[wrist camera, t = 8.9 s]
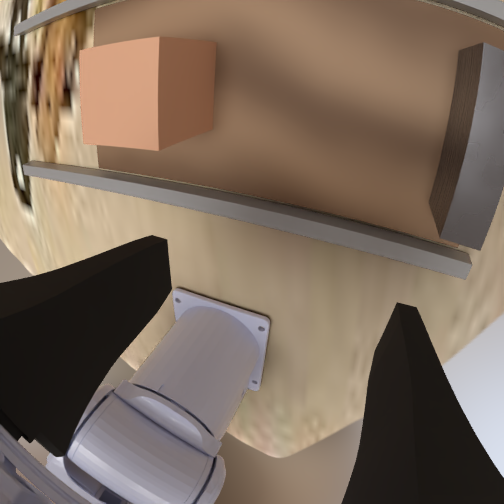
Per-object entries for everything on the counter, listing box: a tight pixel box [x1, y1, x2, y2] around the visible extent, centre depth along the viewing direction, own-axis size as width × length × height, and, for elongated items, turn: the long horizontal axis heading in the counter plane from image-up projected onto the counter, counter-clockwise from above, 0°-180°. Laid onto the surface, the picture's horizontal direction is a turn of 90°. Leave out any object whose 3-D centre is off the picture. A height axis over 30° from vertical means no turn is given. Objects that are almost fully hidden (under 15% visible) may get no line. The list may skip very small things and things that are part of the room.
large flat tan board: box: [94, 0, 504, 250], centre depth 14 cm, size 12×24×4 cm, turn 86°
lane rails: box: [14, 0, 504, 280], centre depth 16 cm, size 15×36×1 cm, turn 86°
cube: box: [80, 37, 217, 151], centre depth 14 cm, size 5×5×5 cm
